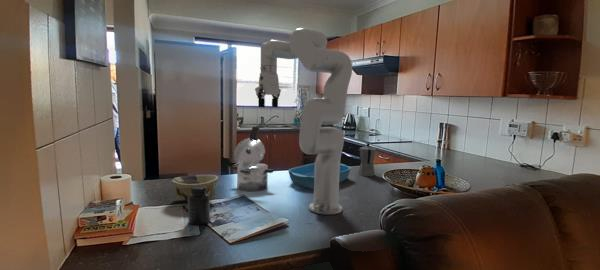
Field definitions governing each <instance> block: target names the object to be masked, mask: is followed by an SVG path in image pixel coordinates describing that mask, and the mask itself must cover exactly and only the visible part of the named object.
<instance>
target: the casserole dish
mask: <svg viewBox="0 0 600 270" xmlns="http://www.w3.org/2000/svg"><path fill="white" fill-rule="evenodd" d="M314 170H315V162H313V163H309V164H303V165H300V166H296V167H292V168H289V169H288V174H289V177H290V181H291V182H292V183H293V184H294V185H296V186H299V187H300V186H301V187H303V188H308V189H313V190H314ZM351 170H352V167H351V166H349V165H346V164H344V163H340V175H339V183H342V182H344V181H345V180H347V178H348V177H349V174H350V172H351Z"/></svg>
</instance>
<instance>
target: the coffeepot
mask: <svg viewBox="0 0 600 270" xmlns="http://www.w3.org/2000/svg"><path fill="white" fill-rule="evenodd" d="M358 150H359V156H360V164H359V169H358V173H357V174H358V175H359V176H361V175H362V177H368V176H370V177H374V176H375V175H376V173H375V163H374V161H375V159H376V158H375V157H376V153H377V148H375V147H372V146H370V143H369V142H366V146H362V147H359V149H358Z"/></svg>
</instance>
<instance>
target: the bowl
mask: <svg viewBox="0 0 600 270" xmlns="http://www.w3.org/2000/svg"><path fill="white" fill-rule="evenodd" d="M218 179H219V176H218V175H216V174H194V175H192V174H191V175H182V176H178V177H174V178H172V179H171V183H172V185H173V186H175V188H174V193H175V195H176V196H177V197H178V198H179V199H182V200H184V202H186V203H188V197H189V196H190V195H191V187H193V186H197V185H203V186H206V194H208V195H209V201H210V200H212V199H214V197H215V194H216V189H215V188H216V187H215V186H214V185H215V184H216V183H218Z"/></svg>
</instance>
